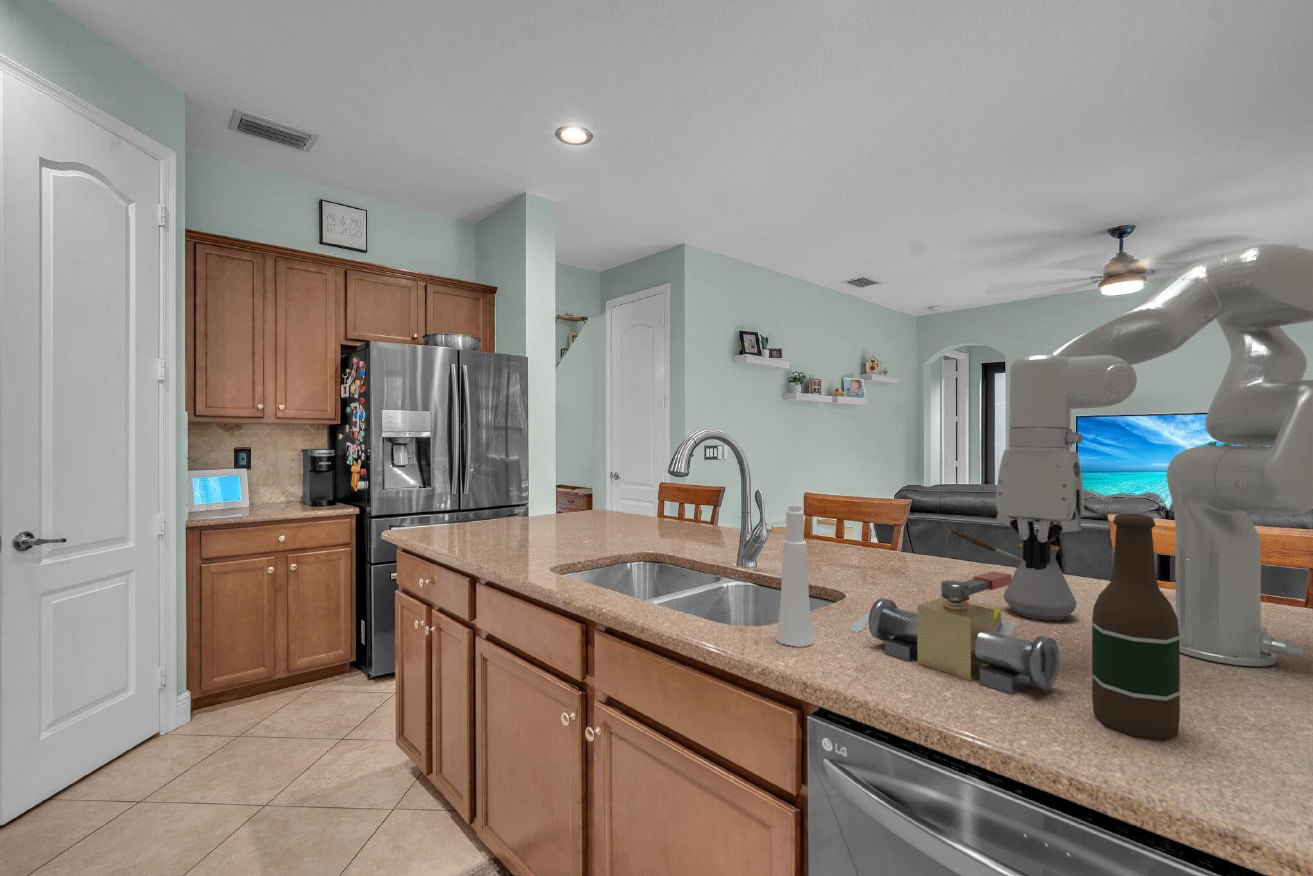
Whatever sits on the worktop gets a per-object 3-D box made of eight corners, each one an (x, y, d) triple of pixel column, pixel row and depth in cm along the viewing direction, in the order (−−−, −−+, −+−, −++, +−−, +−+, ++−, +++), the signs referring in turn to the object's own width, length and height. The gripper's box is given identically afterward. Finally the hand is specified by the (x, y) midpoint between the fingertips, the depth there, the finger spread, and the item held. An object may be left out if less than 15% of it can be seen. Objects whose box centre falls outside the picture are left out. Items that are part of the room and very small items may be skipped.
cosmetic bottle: (803, 633, 100) (803, 502, 100) (820, 645, 94) (820, 506, 94) (769, 636, 99) (769, 503, 99) (785, 648, 93) (785, 507, 93)
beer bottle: (1075, 710, 71) (1075, 511, 72) (1135, 708, 72) (1135, 510, 72) (1132, 743, 64) (1132, 519, 64) (1199, 740, 64) (1198, 519, 64)
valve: (1060, 688, 78) (1060, 615, 78) (1037, 702, 74) (1037, 625, 74) (892, 639, 97) (892, 581, 97) (867, 648, 93) (867, 587, 93)
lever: (1014, 585, 93) (1014, 572, 93) (961, 602, 83) (961, 588, 83) (990, 580, 96) (990, 568, 96) (936, 596, 86) (936, 583, 86)
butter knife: (842, 629, 102) (860, 630, 100) (875, 595, 125) (890, 596, 123) (842, 632, 102) (860, 634, 100) (875, 598, 125) (890, 599, 123)
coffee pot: (1072, 611, 113) (1072, 532, 113) (1081, 627, 103) (1081, 541, 103) (947, 597, 123) (947, 524, 123) (944, 610, 113) (944, 532, 113)
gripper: (1110, 442, 82) (1107, 575, 82) (996, 441, 94) (994, 556, 94) (1090, 441, 78) (1087, 581, 78) (973, 440, 90) (970, 561, 90)
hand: (1036, 567), depth 86 cm, fingers closed
